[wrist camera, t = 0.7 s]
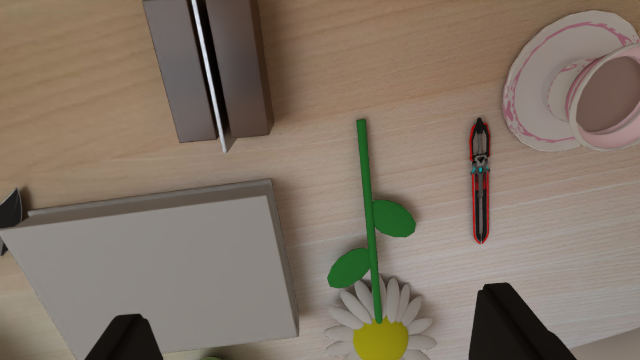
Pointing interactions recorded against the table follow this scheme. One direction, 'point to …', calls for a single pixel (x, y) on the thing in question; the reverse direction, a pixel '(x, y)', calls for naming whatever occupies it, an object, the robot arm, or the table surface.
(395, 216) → the decorative flower
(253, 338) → the book
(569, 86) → the teacup
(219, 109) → the cake knife
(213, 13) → the brown twin bars
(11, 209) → the knife
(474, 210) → the pen
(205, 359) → the green eggplant
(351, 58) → the table surface
